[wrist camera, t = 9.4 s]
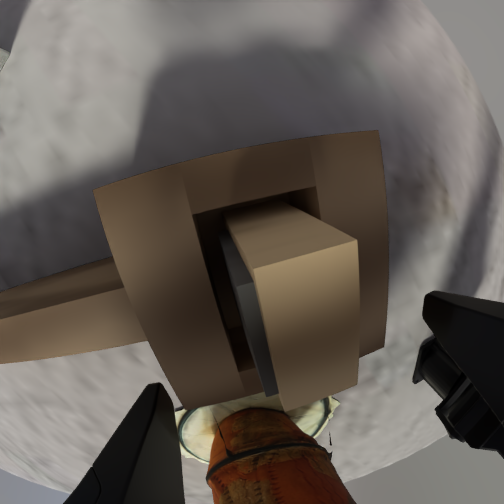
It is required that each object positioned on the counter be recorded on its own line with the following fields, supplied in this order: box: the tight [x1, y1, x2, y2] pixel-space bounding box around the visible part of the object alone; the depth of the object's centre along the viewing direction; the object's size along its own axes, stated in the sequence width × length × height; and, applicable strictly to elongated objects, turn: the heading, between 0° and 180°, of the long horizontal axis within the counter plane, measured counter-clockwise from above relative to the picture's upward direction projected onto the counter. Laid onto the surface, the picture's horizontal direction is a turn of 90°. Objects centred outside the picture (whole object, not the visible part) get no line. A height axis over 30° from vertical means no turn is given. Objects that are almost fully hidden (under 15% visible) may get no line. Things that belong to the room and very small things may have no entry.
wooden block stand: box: [0, 130, 389, 410], centre depth 14 cm, size 12×34×7 cm, turn 101°
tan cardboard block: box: [217, 199, 360, 412], centre depth 12 cm, size 6×4×8 cm, turn 11°
